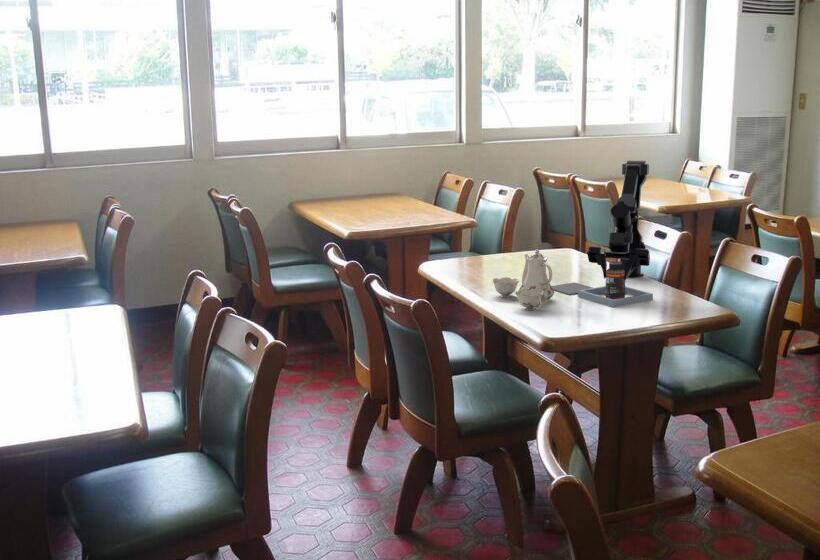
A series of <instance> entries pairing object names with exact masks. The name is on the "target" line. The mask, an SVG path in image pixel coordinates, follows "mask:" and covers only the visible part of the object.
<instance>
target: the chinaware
mask: <svg viewBox="0 0 820 560" xmlns="http://www.w3.org/2000/svg"><path fill="white" fill-rule="evenodd" d="M524 257H525V263H524V267H523V270H522V275H521V276H522V277H521V285H520V287H519V289H518V291H516V289H517V286H518V283H520V280H519V278H511V277H508V276H504V277H501V278H492V283H493V285H494V289H495V291H496V292H497V293H498V294H499V295H500V297H502V298H510V297H511V294H513V293H514V294H515V295H516V296H517V300H518V302H519V304H520V305H521V306H522V307H524V308H523V309H524V310H527V311H534V309H535V310H536V309H540V308H541V307H542V304H547V303H550V302H551V299H552V298H553V297H554V295H555V291H554V290H553V288H552V287H551V286H552V285H551V282H552V279H553V271H552V267H551V265H550V264H548V263H547V262H548V257H547V256H544V255H543V254H542V253H541V252H540V250H539V249H538V248H536V249H535V251H534V252H533V253H531V256H530V255H528V253H527V254H524ZM547 270H548V273H549V274H548V275H549V276H548V275H547Z"/></svg>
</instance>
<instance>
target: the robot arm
mask: <svg viewBox="0 0 820 560" xmlns="http://www.w3.org/2000/svg"><path fill="white" fill-rule="evenodd" d="M621 166H622V167H621V175H624V176H623V177H624V180H623V184H622V189H621V190H622V191H621V195H620V197H618V198H617V199H616V202H615V204H614V205H613V206H612V207H611V208H610V217H611V223H612V226H613V230H612V232H610V233H609V236H608V237H609V238H608V249H609V250H605V249H602V247H601V246H595V245H594V246H593V245H591V246H589V247H588V248H587V252H586V253H587V258H588V259H587V260H588V262H589V263H592V264H597V265H598V266H600V268H601V270H602V274H603V279H605V280H606V270H607V269H608V268H607V266H608V262H607V259H615V260H617V259H619V260H620V262H622V268H623V269H624V270H625V278H624V279H625V281H627V279H628V278H637V277H643V276H644V275H645V273H641V270H642V269H641V267H642V266H644V267H648V266H650V263H651V262H650V261H651V256H650V250H649V249H648V248H646V245H645V241H643V235H642V234H641V232H640V230H639V226H640V212H641V211H640V210H641V198H642V197H641V196H642V195H641V194H642V187H643V185H644V184H645V183H646V181H647V178H648V177H647V176H648V175H649V173H650V164H649V163H647V162H646V160H627V161H626V163H622V165H621Z"/></svg>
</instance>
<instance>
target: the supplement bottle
mask: <svg viewBox="0 0 820 560" xmlns="http://www.w3.org/2000/svg"><path fill="white" fill-rule="evenodd" d="M624 278H625V270H624V269H623V268H622V262H621V261H610V262H609V263H608V268H607V270H606V278H605V286H606V291H605V293H604V294H605V296H604V297H606V298H610V299H613V300H614V299H620V298H626V294H625V286H626V280H625V279H624Z"/></svg>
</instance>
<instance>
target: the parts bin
mask: <svg viewBox="0 0 820 560" xmlns="http://www.w3.org/2000/svg"><path fill="white" fill-rule="evenodd" d="M605 291H606V285H603V286H597V287H593V288H590V289H584V290H578V294H577V297H578V298H580V299H584V300H587V301H591V302H594V303H598V304H602V305H604V306H608V307H611V308H616V307H617V308H618V307H620V306H622V307H623V306H626V305H627V306H628V305H632V304H638V303H644V302H650V301H653V300H654V293H651V292H648V291H645V290H641V289H637V288H633V287H629V286H626V285H625V295H629V296H625V298H620V299H614V300H613V299H610V298H606V297H605V296H602V294H605Z"/></svg>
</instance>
